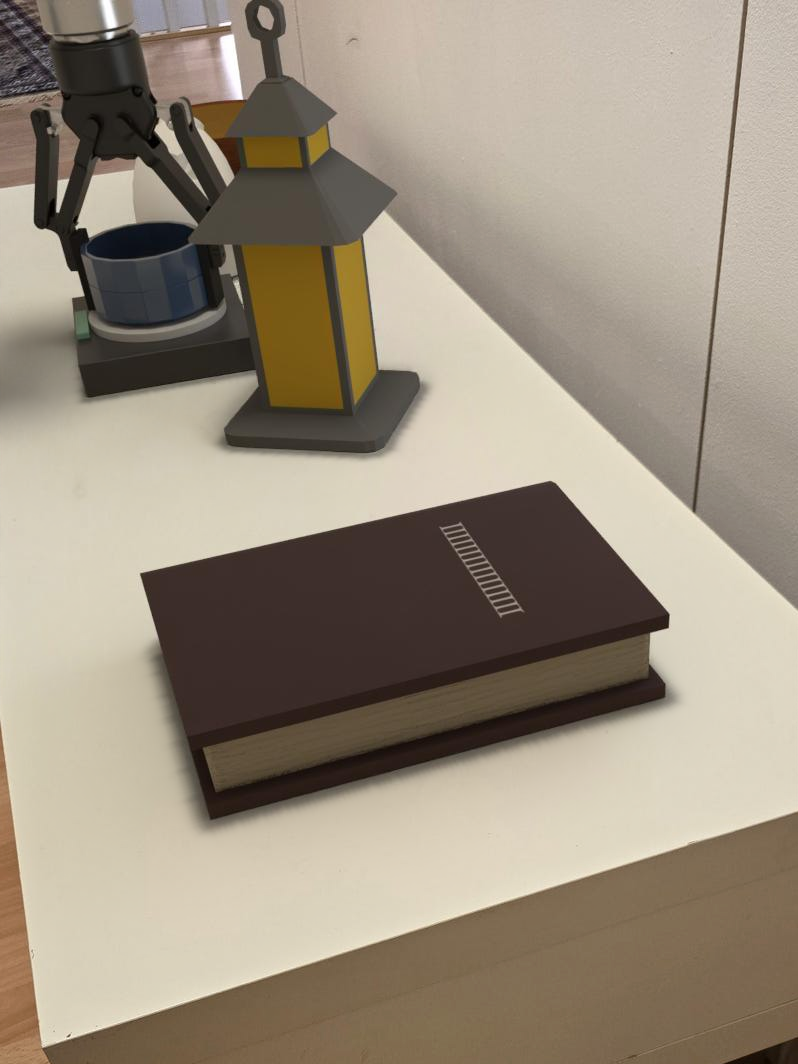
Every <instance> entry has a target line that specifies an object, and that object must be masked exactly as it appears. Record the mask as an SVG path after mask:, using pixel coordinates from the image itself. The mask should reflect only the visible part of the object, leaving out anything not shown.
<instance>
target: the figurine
mask: <svg viewBox="0 0 798 1064" xmlns="http://www.w3.org/2000/svg"><path fill="white" fill-rule="evenodd" d="M194 121H195V126H196V128H197V130H198V132H199V134H200V136H201V138H202V140H203V141H204V143H205V145H206V147H207V149H208V151H209V153H210V155H211V157H212V159H213V161H214V163H215V164H216V166H217V168H218V170H219V172H220V174H221V176H222V178H223V180H224V182H225V184H226V185H227V186H228V185H229V184H230V183H231V181H232V180H233V179H234V174H233V172H232V170H231V168H230V166H229V164H228V162H227V160H226V158H225V156H224V155H223V153H222V152H221V150H220V149H219V147H218V146H217V144H216V143H215V142H214V141H213V140H212V139H211V137H210V136H209V135H208V134H207V133H206V132H205V131H204V125H203V124H202V123H201V122H200V121H199V120H198V119H196V118H195V117H194ZM154 131H155V132H156V133H157V134H158V136H159V137H160V138H161V139H162V140H163V142H164V143H165V144H166V146H167V147H168V151H169V153H170V154H171V155H172V156H173V157H174V159H175V160H176V161H177V162H178V164H179V165H180V166H181V167H182V168H183V170H184V171H185V172H186V173H187V175H188V176H189V177H190V178H191V179H192V181H193V182H194V183H195V184H196V186H197V187H198V188H199V189H200V190H201V192H202V193H203V194H204V195H205V197H206V198H207V196H206V194H205V192H204V190H203V189H202V187H201V185H200V183H199V181H198V179H197V177H196V176H195V174H194V172H193V170H192V168H191V166H190V164H189V162H188V161H187V159H186V157H185V155H184V153H183V151H182V149H181V147H180V146H179V144H178V141H177V139H176V137H175V134H174V131H172V130H170V129H169V128H168V127H167V125H166V123H165V121H164V120H163V119H161V118H160V119H159V124H158V125H156V128H155V130H154ZM207 199H208V198H207ZM132 204H133V212H134V218H135V223H140V222H147V221H178V222H186V223H190V224H193V225H195V226H198V224H197V222H196V221H195V220H194V219H193V218H192V216H191V215H190V214H189V213H188V211H187V210H186V209H185V208H184V207H183V205H182V204H181V203H180V202H179V201H178V199H177V198H176V197H175V196H174V195H173V193H172V192H171V191H170V190H169V189H168V187H167V186H166V185H165V184H164V183H163V181H162V180H161V179H160V178H159V177H158V175H157V174H156V173H155V172H154V171H153V169H152V168H150V167H148V166H146V165H145V164H144V162H143V161H142V160H141V159H140V158H139V157H137V158H136V159H135V163H134V169H133V177H132ZM224 248H225V253H226V260H225V263H224V264H223V266H222V267H219V272H220V275H223V274H230V275H231V277H232V278H233V277H235V276H238V274H237V269H236V263H235V258H234V253H233V247H232V245H224Z"/></svg>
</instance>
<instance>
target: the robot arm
mask: <svg viewBox="0 0 798 1064" xmlns="http://www.w3.org/2000/svg"><path fill="white" fill-rule="evenodd" d="M35 1H36V5H37V9H38V14H39V18H40V22H41V25H42V30H43V31H44V32H45V33H46V34H48V35H50V36H52V38H51V39H50V40H49V44H48V45H47V46H48V51H49V55H50V60H51V63H52V67H53V71H54V75H55V78H56V82H57V86H58V88H59V89H58V90H59V92H60V94H61V97H62V102H61V103H62V104H61V106H60V105H59V106H52V105H51V104H49V103H47V102H43V103H41V104H40V105H38V106H37V107H35V108H34V109H33V110H32V111H31V112H30V114H29V117H30V122H31V126H32V129H33V133H34V137H35V140H36V141H35V164H34V165H35V167H34V195H33V197H34V198H33V224H34V226H35V227H36V228H37V229H39V230H48V231H51V232H53V233H55V235H57V237H58V239H59V241H60V245H61V249H62V253H63V256H64V259H65V263H66V266H67V269H69V271H70V272H77V274H78V278H79V281H80V286H81V289H82V292H83V296H85V300H86V303H87V307H88V311H96V308H95V305H94V301H93V297H92V293H91V290H90V286H89V282H88V279H87V275H86V271H85V268H84V264H83V260H82V257H81V252H80V246H81V245H82V244H83V243H84V242H85V241H86V240H87V239H88V238H90V237H89V233H88V229H87V227H78V228H76V227H77V226H78V225H79V223H80V221H79V218H80V215H81V211H82V209H83V206H84V203H85V199H86V196H87V194H88V190H89V186H90V183H91V180H92V178H93V174H94V171H95V169H96V165H97V163H98V161H99V160H100V161H101V162H106V161H107V162H108V161H109V162H110V161H112V160H114V159H122V160H126V161H132V160H133V161H134V160H135V161H136V159H137V157H139V158H140V159H141V160H142V161H143V162H144V164H145V165H146V166H148V167H150V168H152V169H153V171H154V172H155V173H156V174H157V175H158V177H159V178H160V179H161V180H162V181H163V183H164V184H165V185H166V186H167V187H168V189H169V190H170V191H171V192H172V193H173V195H174V196H175V197H176V198H177V199H178V201H179V202H180V203H181V204H182V205H183V207H184V208H185V209H186V210H187V211H188V213H189V214H190V215H191V216H192V218H193V219H194V220H195V221H196V222H197V224H198V225H199V223H200V222H201V221H202V219H203V218H204V217H205V215H206V214H207V213H208V212H209V210H210V209H211V208H212V206H213V205H214V204H215V202H216V201H217V200H218V198H219V197H220V196H221V194H222V193H223V192H224V190H225V189H226V188H227V185H226V184H225V182H224V180H223V178H222V176H221V174H220V172H219V170H218V168H217V166H216V164H215V163H214V161H213V159H212V157H211V155H210V153H209V151H208V149H207V147H206V145H205V143H204V141H203V140H202V138H201V136H200V134H199V132H198V130H197V128H196V126H195V121H194V117H193V112H192V107H191V105H192V104H191V101H190V99H189V98H188V97H186V96H179V98H177V99H176V100H171V101H170V100H169V101H168V100H167V101H158V100H157V98H156V97H155V95H154V94H153V91H152V90H151V86H150V80H149V74H148V70H147V66H146V60H145V56H144V51H143V47H142V42H141V37H140V34H139V33H137V32H136V30H135V29H133V28H131V27H130V26H131V25H133V24H134V22H135V20H136V15H135V12H134V7H133V1H132V0H35ZM159 118H161V119H163V120H164V121H165V123H166V125H167V127H168V128H169V129H170V130H172V131H174V134H175V137H176V139H177V141H178V144H179V146H180V147H181V149H182V151H183V153H184V155H185V157H186V159H187V161H188V162H189V164H190V166H191V168H192V170H193V172H194V174H195V176H196V177H197V179H198V181H199V183H200V185H201V187H202V189H203V190H204V192H205V194H206V196H207V198H208V199H207V198H206V197H205V195H204V194H203V193H202V192H201V190H200V189H199V188H198V187H197V186H196V184H195V183H194V182H193V181H192V179H191V178H190V177H189V176H188V175H187V173H186V172H185V171H184V170H183V168H182V167H181V166H180V165H179V164H178V162H177V161H176V160H175V159H174V157H173V156H172V155H171V154H170V153H169V151H168V147H167V146H166V144H165V143H164V142H163V140H162V139H161V138H160V137H159V136H158V134H157V133H156V132H155V131H154V130H155V128H156V125H157V122H158V120H159ZM64 124H65V125H66V126H67V128H69V130H70V131H71V132H72V133H73V134H74V135H75V136H76V138H78V140H79V142H78V145H77V148H76V152H75V155H74V158H73V166H72V169H71V172H70V176H69V179H68V181H67V185H66V188H65V192H64V195H63V199H62V201H61V204H60V208H59V210H58V211H57V205H58V204H57V203H58V183H59V181H58V180H59V161H60V143H61V142H60V141H61V140H60V134H61V133H62V132H63V130H64ZM196 247H197V251H198V256H199V261H200V266H201V270H202V275H203V280H204V285H205V289H206V294H207V299H208V304H209V308H217V307H218V306H219V304H220V303H221V301H222V300H223V299H224V292H223V287H222V282H221V277H220V272H219V267H222V266H223V264H224V263H225V260H226V253H225V248H224V245H215V244H196Z"/></svg>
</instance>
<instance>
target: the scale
mask: <svg viewBox="0 0 798 1064" xmlns="http://www.w3.org/2000/svg"><path fill="white" fill-rule="evenodd" d="M220 277H221V282H222V287H223V292H224V299H223V300H222V301H221V303H220V304H219V306H218V307H217V308H209V304H208V305H206V306H204V307H202V308H201V309H200V310H199V311H197V312H196V313H194V314H192V315H190V316H188V317H185V318H183V319H180V320H176V321H173V322H168V323H163V324H156V325H144V326H138V325H126V324H121V323H118V322H115V321H109V320H106V319H105V318H103V317H101V316H100V315H98V314H97V312H96V311H88V307H87V303H86V300H85V296H84V295H82V296H75V297H72V298H71V305H72V315H73V324H74V335H75V336H74V337H75V345H76V356H77V366H78V370H79V372H80V376H81V380H82V383H83V386H84V391H85V393H86V397H88V398H91V397H98V396H102V395H103V396H104V395H109V394H114V393H115V394H116V393H121V392H127V391H132V390H140V389H146V388H150V387H156V386H161V385H167V384H175V383H180V382H186V381H192V380H197V379H198V380H199V379H205V378H210V377H215V376H221V375H227V374H232V373H233V374H234V373H240V372H244V371H250V370H255V364H254V359H253V354H252V348H251V343H250V338H249V332H248V327H247V322H246V316H245V311H244V306H243V302H242V301H241V298H240V295H239V293H238V291H237V287H236V285H235V283H234V280H233V276H232V277H231V275H230V274H223V275H220Z"/></svg>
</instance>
